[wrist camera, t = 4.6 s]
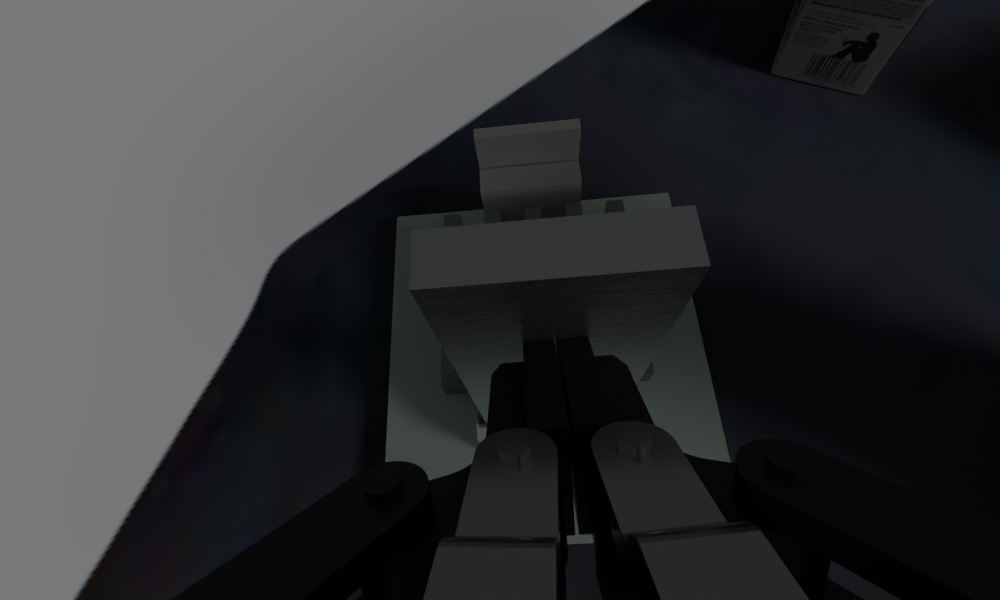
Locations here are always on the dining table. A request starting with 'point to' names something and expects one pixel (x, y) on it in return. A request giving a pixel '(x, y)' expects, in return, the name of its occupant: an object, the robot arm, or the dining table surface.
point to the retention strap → (556, 286)
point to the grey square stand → (417, 352)
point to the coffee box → (844, 40)
